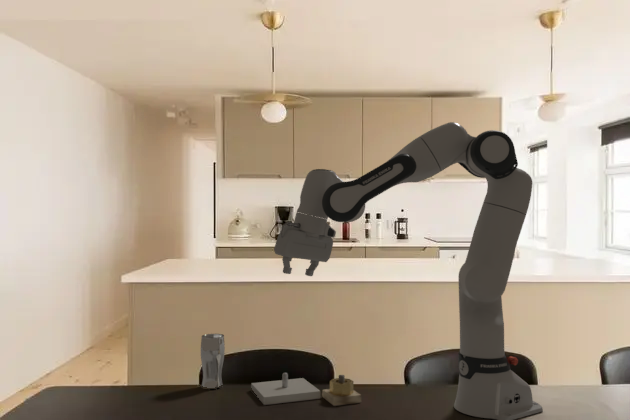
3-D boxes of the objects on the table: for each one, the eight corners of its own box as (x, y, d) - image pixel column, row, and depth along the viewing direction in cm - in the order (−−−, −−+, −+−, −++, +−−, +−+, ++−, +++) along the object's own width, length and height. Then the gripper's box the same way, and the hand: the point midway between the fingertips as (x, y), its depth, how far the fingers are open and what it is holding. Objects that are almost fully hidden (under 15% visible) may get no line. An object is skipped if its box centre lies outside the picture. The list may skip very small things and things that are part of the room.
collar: (346, 388, 146) (346, 377, 146) (356, 394, 140) (356, 383, 140) (327, 390, 143) (327, 379, 144) (335, 396, 138) (335, 385, 138)
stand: (348, 394, 147) (348, 370, 147) (361, 402, 139) (361, 377, 140) (322, 397, 144) (322, 373, 144) (333, 405, 136) (333, 380, 137)
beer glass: (218, 391, 149) (219, 338, 149) (196, 389, 150) (196, 337, 151) (227, 384, 155) (228, 334, 156) (205, 383, 157) (206, 333, 158)
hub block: (303, 384, 156) (303, 364, 156) (320, 398, 143) (320, 376, 143) (251, 390, 150) (251, 369, 150) (264, 404, 137) (264, 381, 137)
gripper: (292, 222, 134) (280, 274, 133) (339, 232, 149) (328, 279, 149) (275, 218, 138) (263, 269, 137) (323, 228, 153) (312, 274, 153)
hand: (297, 274), depth 143 cm, fingers open, 8 cm apart
